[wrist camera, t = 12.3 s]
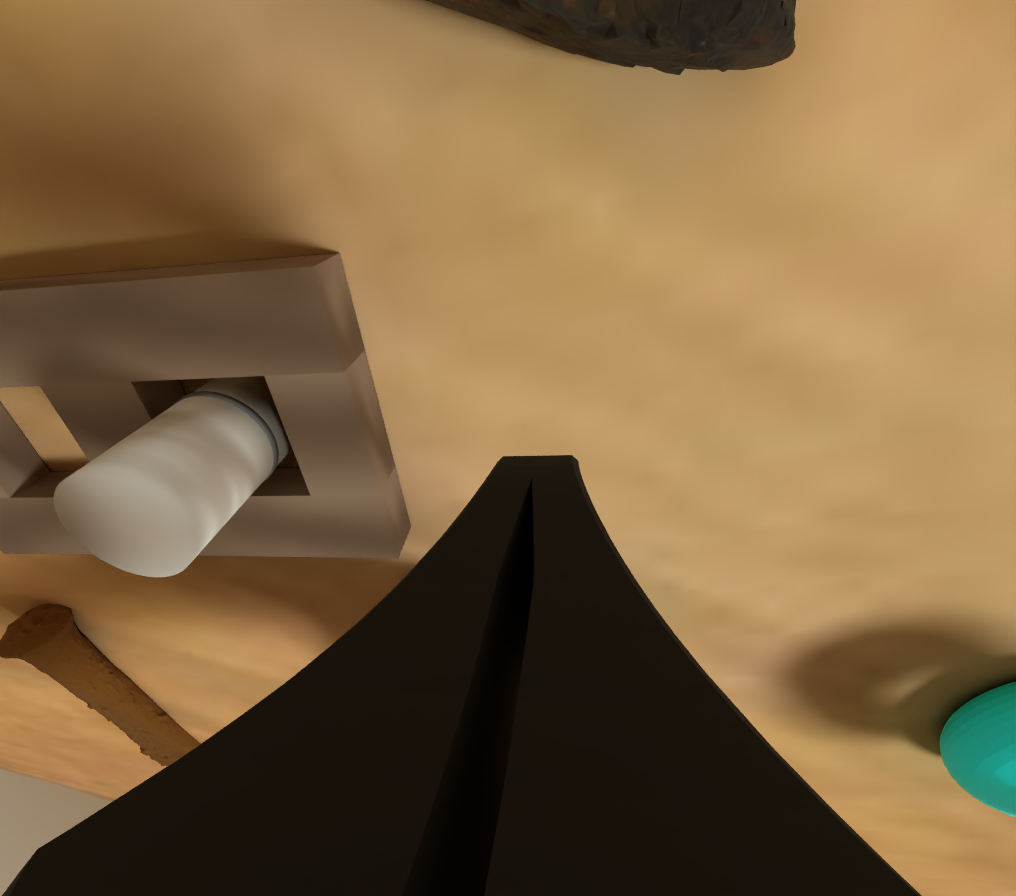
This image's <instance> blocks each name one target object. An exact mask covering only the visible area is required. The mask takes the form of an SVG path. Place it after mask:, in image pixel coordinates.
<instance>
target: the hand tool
mask: <svg viewBox="0 0 1016 896" xmlns="http://www.w3.org/2000/svg"><path fill="white" fill-rule="evenodd" d="M428 1H430V2H433V3H436V4H439V5H442V6H444V7H447V8H450V9H453V10H456V11H459V12H462V13H465V14H467V15H470V16H473V17H476V18H479V19H481V20H484V21H487V22H490V23H493V24H496V25H499V26H502V27H505V28H508V29H511V30H514V31H517V32H521V33H523V34H525V35H527V36H529V37H531V38H533V39H535V40H537V41H539V42H541V43H543V44H546V45H549V46H552V47H554V48H557V49H560V50H563V51H566V52H569V53H572V54H579V55H582V56H586V57H589V58H592V59H596V60H601V61H605V62H609V63H613V64H617V65H621V66H625V67H627V66H628V67H632V68H633V67H634V66H635V65H639V66H644V67H652V68H655V69H657V70H660V71H662V72H665V73H670V74H677V75H680V74H681V73H682V71H683V70H684V69H685V68H687V69H696V70H709V69H718V70H720V71H722V72H724V71H726V70H746V69H752V68H759V67H765V66H769V65H772V64H774V63H776V62H778V61H782V60H784V59H786V58H788V57H789V56H790V55H791V54H792V53H793V51H794V48H795V41H794V30H795V17H794V13H795V5H796V0H428Z"/></svg>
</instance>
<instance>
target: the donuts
mask: <svg viewBox="0 0 1016 896" xmlns="http://www.w3.org/2000/svg"><path fill="white" fill-rule="evenodd" d="M940 753H941V756H942V759H943V762H944V765H945V766H946V768H947V770H948V772H949V773H950V775H951V776H952V777H953V778H954V780H955V781H956V782H957V783H958V784H959V785H960V786H961V787H962V788H963V789H964V790H965V791H967V792H968V793H969V794H970V795H972V796H973V797H975V798H976V799H978V800H979V801H981V802H983V803H984V804H986V805H988V806H990V807H992V808H994V809H996V810H999V811H1001V812H1004V813H1006V814H1009V815H1012V816H1015V817H1016V681H1015V682H1012V683H1008V684H1005V685H1002V686H999V687H997V688H994V689H992V690H989V691H987V692H985V693H983V694H981V695H979V696H977V697H975V698H973V699H972V700H970V701H968V702H967V703H965V704H964V705H963V706H961V707H960V708H959V709H958V710H957V711H955V712H954V713H953V714H952V715H951V717H950V718H949V719H948V721H947V722H946V724H945V726H944V728H943V730H942V733H941V736H940Z"/></svg>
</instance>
